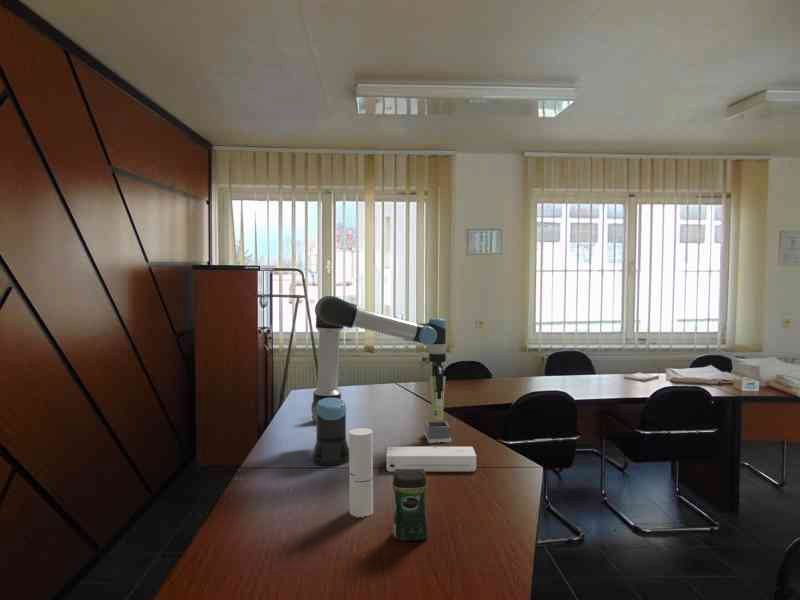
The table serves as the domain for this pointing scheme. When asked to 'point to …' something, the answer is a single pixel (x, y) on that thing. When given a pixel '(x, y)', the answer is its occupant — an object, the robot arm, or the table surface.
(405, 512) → the coffee jar
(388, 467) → the laminator
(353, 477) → the cylindrical container
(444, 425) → the grey and white box
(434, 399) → the tube
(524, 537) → the table surface
